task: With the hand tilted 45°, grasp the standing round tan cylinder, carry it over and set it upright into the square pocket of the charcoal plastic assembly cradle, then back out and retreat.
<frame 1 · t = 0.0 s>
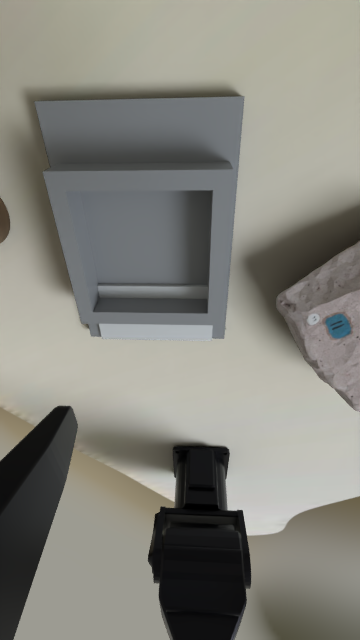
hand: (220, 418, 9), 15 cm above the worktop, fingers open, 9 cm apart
stone: (349, 300, 24), on the worktop
cradle: (150, 240, 21), on the worktop
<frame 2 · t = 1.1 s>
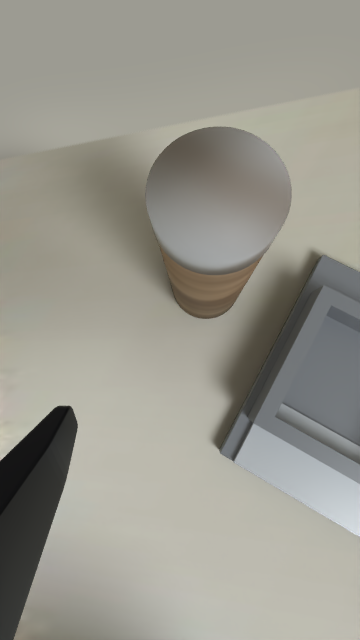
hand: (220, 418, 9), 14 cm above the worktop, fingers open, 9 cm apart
round tan cylinder: (205, 286, 24), on the worktop
cradle: (340, 388, 22), on the worktop
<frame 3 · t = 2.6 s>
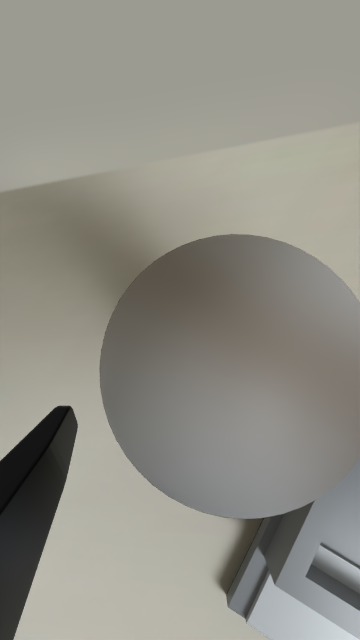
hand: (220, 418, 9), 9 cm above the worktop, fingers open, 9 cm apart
round tan cylinder: (208, 369, 18), on the worktop
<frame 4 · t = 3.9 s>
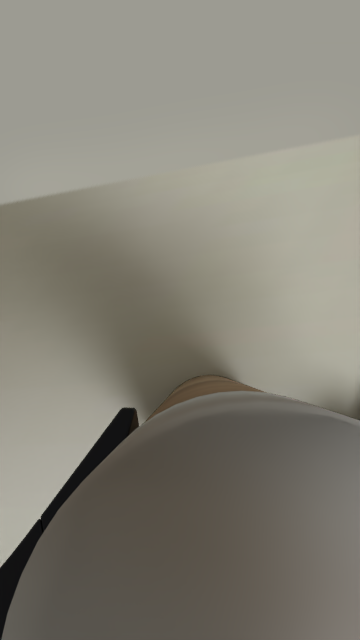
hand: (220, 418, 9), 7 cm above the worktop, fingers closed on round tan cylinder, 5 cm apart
round tan cylinder: (210, 425, 16), on the worktop, touching gripper
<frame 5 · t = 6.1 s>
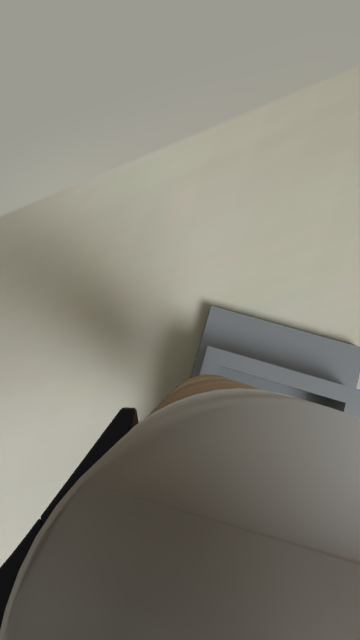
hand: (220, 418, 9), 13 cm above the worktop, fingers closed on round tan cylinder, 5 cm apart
round tan cylinder: (209, 425, 16), point 7 cm above the worktop, touching gripper
cradle: (255, 436, 22), on the worktop
when the fingers open (9 cm above the worktop, at t = 8.0 s): round tan cylinder drops 1 cm, resting on cradle.
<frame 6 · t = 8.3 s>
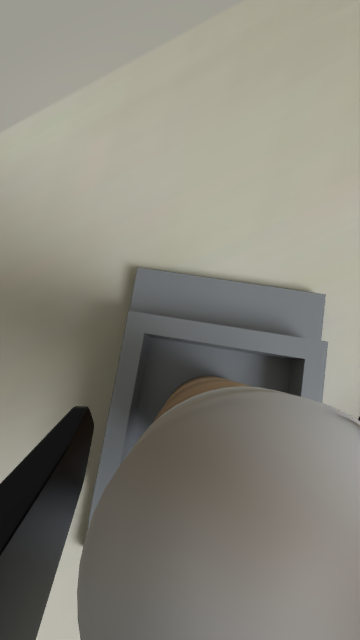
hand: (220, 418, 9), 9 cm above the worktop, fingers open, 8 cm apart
round tan cylinder: (208, 422, 17), point 1 cm above the worktop, touching cradle
cradle: (208, 418, 18), on the worktop
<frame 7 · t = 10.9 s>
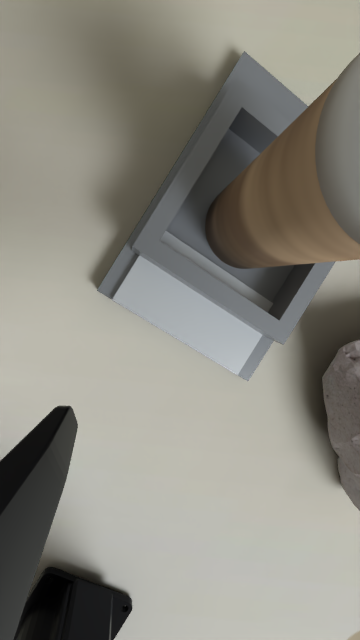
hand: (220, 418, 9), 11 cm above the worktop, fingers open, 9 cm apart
round tan cylinder: (245, 227, 19), point 1 cm above the worktop, touching cradle
cradle: (241, 228, 20), on the worktop
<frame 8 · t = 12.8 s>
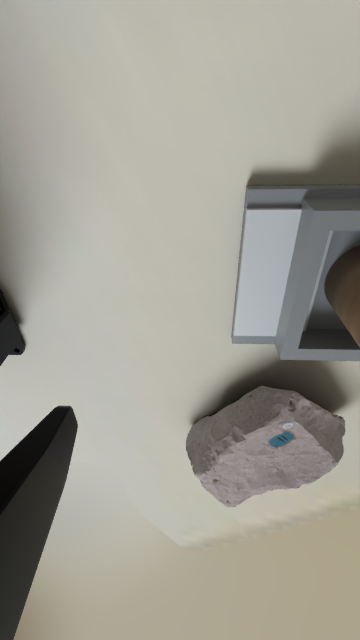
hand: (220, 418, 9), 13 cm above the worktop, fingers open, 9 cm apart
stone: (259, 412, 30), on the worktop
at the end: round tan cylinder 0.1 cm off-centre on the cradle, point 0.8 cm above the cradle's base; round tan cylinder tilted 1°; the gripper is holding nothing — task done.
